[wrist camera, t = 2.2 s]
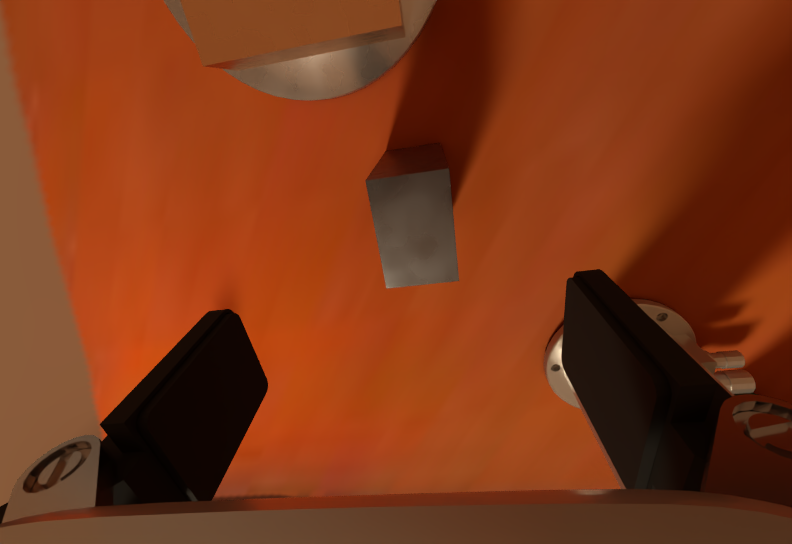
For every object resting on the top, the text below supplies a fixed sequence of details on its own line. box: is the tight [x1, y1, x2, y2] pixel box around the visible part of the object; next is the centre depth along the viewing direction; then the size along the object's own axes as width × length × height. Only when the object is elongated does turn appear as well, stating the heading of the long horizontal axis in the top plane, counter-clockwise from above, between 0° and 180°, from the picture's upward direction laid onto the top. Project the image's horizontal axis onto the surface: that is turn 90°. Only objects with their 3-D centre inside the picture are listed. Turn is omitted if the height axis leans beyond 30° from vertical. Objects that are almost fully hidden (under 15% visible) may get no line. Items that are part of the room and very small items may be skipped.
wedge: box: [366, 143, 459, 288], centre depth 22 cm, size 4×6×10 cm, turn 9°
